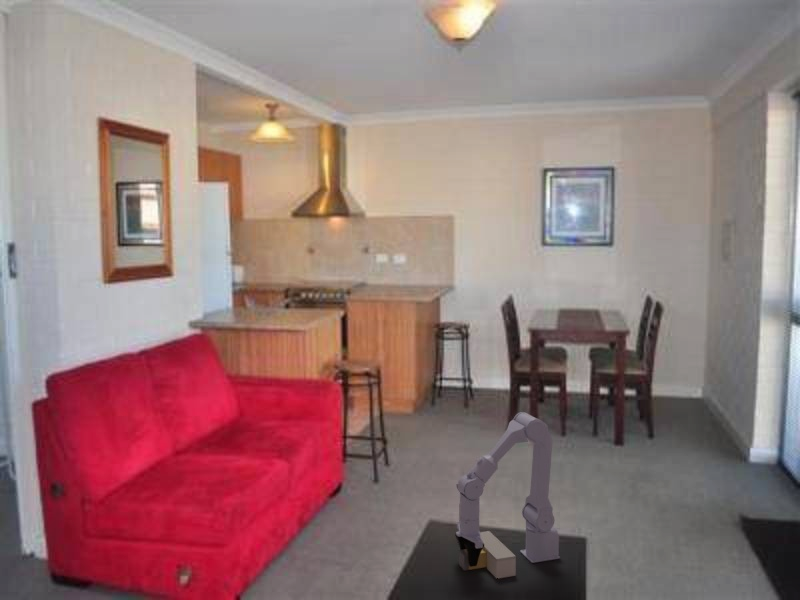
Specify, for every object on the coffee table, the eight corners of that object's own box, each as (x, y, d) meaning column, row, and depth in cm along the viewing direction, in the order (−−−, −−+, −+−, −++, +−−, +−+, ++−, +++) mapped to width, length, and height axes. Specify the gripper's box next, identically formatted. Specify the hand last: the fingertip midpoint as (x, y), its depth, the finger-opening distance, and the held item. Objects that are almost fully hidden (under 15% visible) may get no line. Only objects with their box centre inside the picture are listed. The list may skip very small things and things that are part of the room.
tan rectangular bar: (494, 558, 212) (494, 544, 211) (500, 564, 208) (500, 550, 207) (458, 564, 208) (458, 550, 208) (464, 570, 204) (464, 555, 204)
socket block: (488, 548, 219) (489, 530, 218) (515, 575, 202) (515, 556, 201) (471, 551, 217) (471, 533, 216) (496, 578, 200) (496, 559, 199)
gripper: (447, 509, 211) (447, 552, 212) (466, 528, 197) (466, 574, 199) (469, 506, 213) (469, 549, 215) (489, 525, 200) (489, 571, 201)
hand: (469, 561), depth 207 cm, fingers open, 5 cm apart
